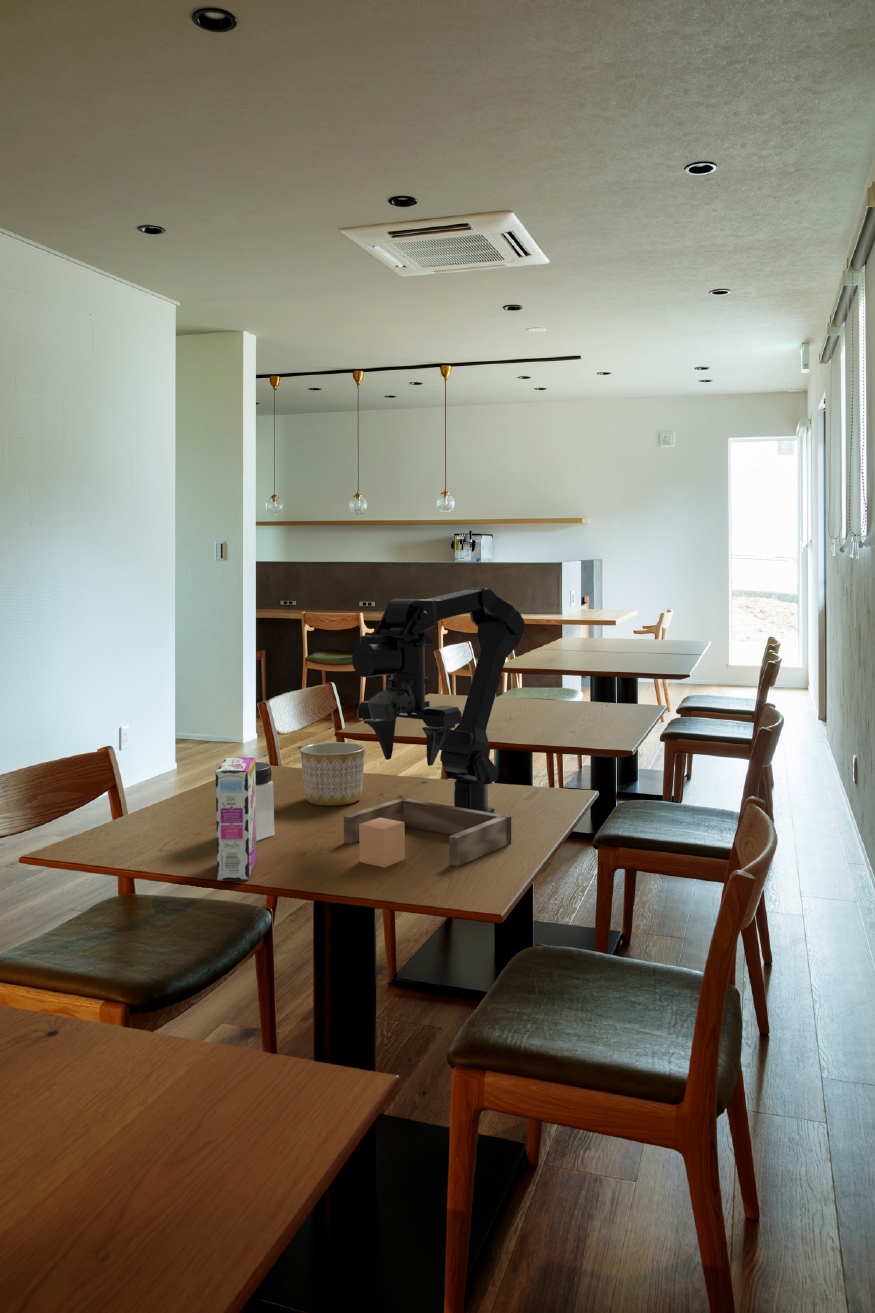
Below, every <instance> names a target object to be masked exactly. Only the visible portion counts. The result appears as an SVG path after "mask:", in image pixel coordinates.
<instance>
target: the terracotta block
mask: <svg viewBox="0 0 875 1313" xmlns="http://www.w3.org/2000/svg"><path fill="white" fill-rule="evenodd" d="M405 827H406V826H405V824H404V822H401V821H396V820H390V819H385V818H377V819H374V820H371V821H368V822H365V823H362V824H359V841H358V843H359V862H360V863H361V864H362V863H364V864H368V865H372V866H377V867H380V868H386V867H389V866H392V865H395V864H396V863H400V862H402V861H404V860H406V848H405V847H406V843H405V842H406V841H405V840H406V839H405V836H406V834H405V831H406V830H405V829H406V828H405Z"/></svg>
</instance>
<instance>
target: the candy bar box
mask: <svg viewBox="0 0 875 1313" xmlns="http://www.w3.org/2000/svg"><path fill="white" fill-rule="evenodd" d="M255 762H256V757H244V756H243V757H225V758H224V760H223V761H222V762H221V764H220V765H219V766H218V768H217V769H216V770H215V806H216V808H215V814H216V819H215V820H216V824H215V825H216V872H217V875H216V879H217V881H219V882H220V881H221V882H226V881H227V882H229V881H230V882H231V881H234V882H235V881H248V880H250V877H251V875H252V872H253V869H254V866H255V864H256V860H257V856H258V855H257V841H256V776H255Z"/></svg>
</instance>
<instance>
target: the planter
mask: <svg viewBox="0 0 875 1313" xmlns="http://www.w3.org/2000/svg"><path fill="white" fill-rule="evenodd" d="M299 753H300V760H301V761H300V762H301V769H302V777H303V786H304V794H305V795H304V796H305V798H306V801H307V802H308V803H310V804H313V805H316V806H321V807H340V806H347V805H351V804H355V803H357V802H358V801H359V800H361V798H362V796H363V795H362V794H363V783H364V771H365V770H364V769H365V767H364V766H365V758H366V757H365V756H366V747H365V746H364V745H362V744H358V743H354V742H353V743H352V742H337V741H336V742H320V743H313V744H312V743H311V744H308V745H304V746H301V748H300V749H299Z"/></svg>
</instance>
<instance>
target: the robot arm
mask: <svg viewBox="0 0 875 1313" xmlns="http://www.w3.org/2000/svg"><path fill="white" fill-rule="evenodd" d="M468 613H469V616H470V621H471V622H472V624H474V625H475V626H476V627H477V632H476V639H477V643H478V646H479V655H478V659H477V662H476V664H475V669H474V671H473V672H474V673H473V675H472V678H471V682H470V687H469V689H468V692H467V698H466V700H465V703H464V706H463V707H464V708H463V711H461V710H460V708H459V707H458V706H451V705H444V704H443V705H437V706H433V707H432V706H431V707H430V703H431V702H430V701H429V700H426V685H427V684H430V677H427V676H426V677H425V675H426V674H425V671H426V668H425V667H426V664H425V663H426V662H425V660H426V659H425V646H428V645H429V646H430V645H431V646H432V645H433V644H434V640H433V639H432V637H430V636H428V634H427V633H426V631H428V630H430V629H432V628H434V627H435V626H436V624H437V623H438V622H440V621H441V620H445V619H449V618H450V619H451V618H453V617H457V616H460V615H464V614H468ZM522 616H523V615H522V614H521V612H519V611H518V610H516V608H515V607H514V606H513V605H512V604H510V603H508V602H507V601H505V600H504V599H502V598H500V597H498V596H497V594H496V593H494V591H493V590H492V589H490V588H488V587H471V586H470V587H468V588H466V589H463V590H460V591H455V592H450V593H447V594H442V595H438V596H435V597H430V598H425V599H422V598H421V599H420V598H418V599H417V598H416V599H415V598H392V599H391V600H389V601H388V602H387V606H386V608H385V610H384V613H383V614H382V616H381V619H380V621H379V622H378V624H377V626H376V627H375V630H374V631H373V633H372V635H361V636H360V643H359V644H358V645H356V647H355V648H354V651H353V653H352V655H351V661H352V667H353V669H354V671H355V673H356V674H357V675H358V676H359V677H361V678H371V677H373V678H374V677H380V676H388V675H389V676H390V675H391V676H390V677H391V678H386V681H385V688H384V689H383V690H382V691H380V692H378V693H377V694H375V695H374V696H373V697H371V698H369V700H365V701H361V702H360V703H359V704H358V707H357V719H363V724H367V725H368V726H369V727H370V728H371V729H372V730H373V731H374V733H375V735H376V738H377V739H378V742H379V745H380V749H381V751H382V753H383V756H384V759H385V760H386V761H388V760H391V759H392V756H393V755H392V754H393V750H394V742H395V733H396V731H395V730H396V723H397V718H402V719H403V718H405V719H412V720H413V719H414V720H422V721H423V723H424V724H425V726H424V727H421V730H422V731H423V732H424V735H426V736H425V737H426V763H427V766H428V767H432V766H433V765H434V763H435V761H436V760H437V758H438V754H439V752H440V756H439V759H440V762H441V764H442V768H443V771H444V775H445V778H446V779H447V780H454V791H453V806H454V807H459V808H465V809H471V810H477V811H483V812H489V813H494V812H496V811H495V808H492V807H488V805H489V804H488V803H489V802H488V798H489V797H488V795H489V794H488V792H489V791H488V789H489V788H488V785H492V784H493V783H495V782H496V781H497V779H498V774H499V769H498V768H497V766H496V765H495V764H494V763H493V762H492V760H491V759H490V758H489V753H490V742H489V738H488V735H487V729H488V723H489V721H490V716H491V713H492V709H493V705H494V703H495V698H496V696H497V691H498V687H499V683H500V680H501V677H502V674H503V669H504V666H505V662H506V659H507V658H508V657H509V656H510V655H511V653H512V652H513V651H514V650H516V649H517V648H518V646H519V644H520V641H521V639H522V637H523V634H524V632H525V631H524V630H525V626H526V625H525V624H526V623H525V621H524V618H523V617H522ZM456 725H457V726H456ZM453 728H454V729H453Z"/></svg>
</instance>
